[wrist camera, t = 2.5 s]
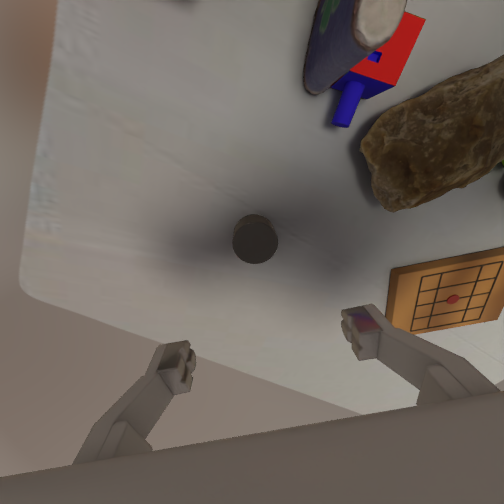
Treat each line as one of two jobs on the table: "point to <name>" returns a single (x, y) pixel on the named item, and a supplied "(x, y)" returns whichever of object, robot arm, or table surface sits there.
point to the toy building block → (376, 70)
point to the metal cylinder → (254, 239)
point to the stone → (438, 139)
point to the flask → (347, 37)
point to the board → (447, 292)
